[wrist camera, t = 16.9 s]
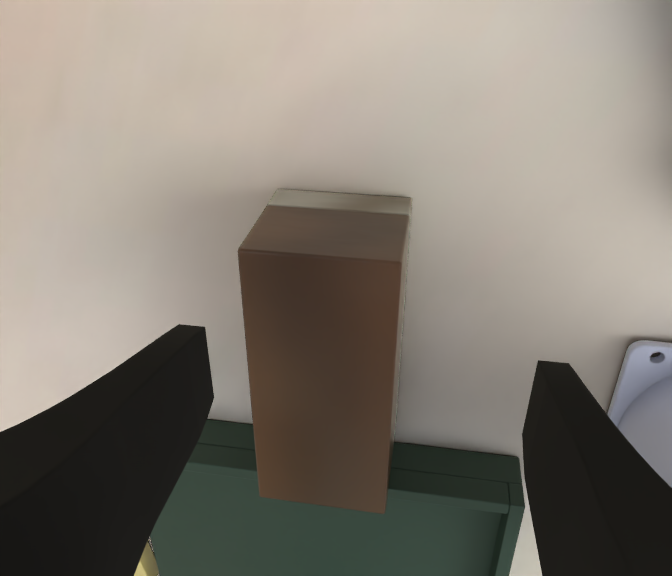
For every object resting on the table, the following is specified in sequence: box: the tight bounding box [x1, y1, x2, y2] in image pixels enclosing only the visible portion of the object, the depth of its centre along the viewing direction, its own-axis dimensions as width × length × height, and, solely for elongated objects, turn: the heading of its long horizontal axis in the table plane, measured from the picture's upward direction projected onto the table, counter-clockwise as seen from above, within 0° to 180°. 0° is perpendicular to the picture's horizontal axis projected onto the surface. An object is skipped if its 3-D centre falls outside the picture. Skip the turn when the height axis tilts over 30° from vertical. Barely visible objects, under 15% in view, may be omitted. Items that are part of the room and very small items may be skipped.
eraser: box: [238, 189, 412, 514], centre depth 23 cm, size 5×11×5 cm, turn 0°
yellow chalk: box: [134, 541, 159, 576], centre depth 35 cm, size 1×4×1 cm
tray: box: [150, 419, 525, 576], centre depth 32 cm, size 18×16×3 cm
